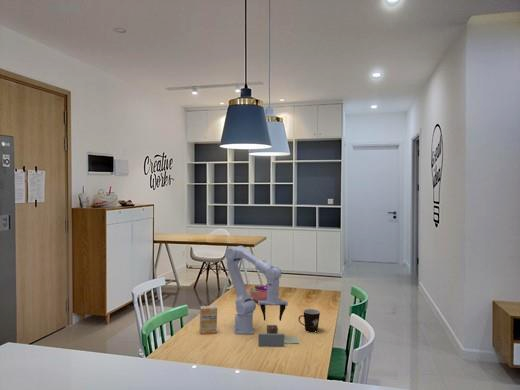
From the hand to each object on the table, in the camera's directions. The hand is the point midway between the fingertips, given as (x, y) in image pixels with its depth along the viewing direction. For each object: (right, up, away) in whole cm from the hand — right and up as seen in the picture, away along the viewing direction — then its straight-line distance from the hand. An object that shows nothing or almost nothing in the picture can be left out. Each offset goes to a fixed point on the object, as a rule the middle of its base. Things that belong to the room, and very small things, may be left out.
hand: (272, 320), depth 194 cm
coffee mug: (+19, -10, +13) cm, 25 cm away
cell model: (-4, -9, +67) cm, 68 cm away
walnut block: (0, -9, 0) cm, 9 cm away
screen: (-1, -9, -9) cm, 13 cm away
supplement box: (-32, -9, +7) cm, 34 cm away
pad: (+9, -10, -3) cm, 13 cm away
